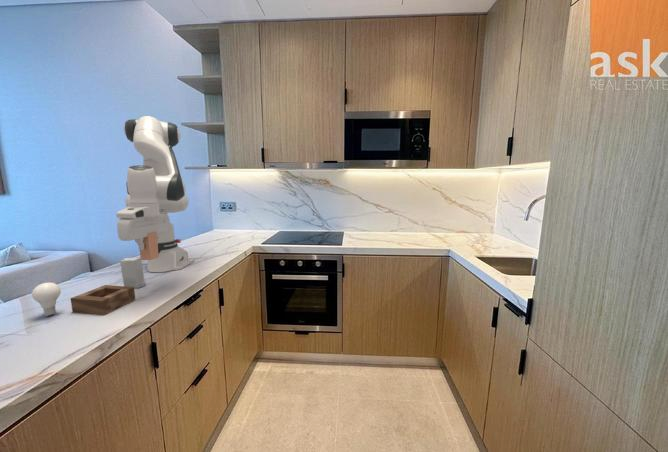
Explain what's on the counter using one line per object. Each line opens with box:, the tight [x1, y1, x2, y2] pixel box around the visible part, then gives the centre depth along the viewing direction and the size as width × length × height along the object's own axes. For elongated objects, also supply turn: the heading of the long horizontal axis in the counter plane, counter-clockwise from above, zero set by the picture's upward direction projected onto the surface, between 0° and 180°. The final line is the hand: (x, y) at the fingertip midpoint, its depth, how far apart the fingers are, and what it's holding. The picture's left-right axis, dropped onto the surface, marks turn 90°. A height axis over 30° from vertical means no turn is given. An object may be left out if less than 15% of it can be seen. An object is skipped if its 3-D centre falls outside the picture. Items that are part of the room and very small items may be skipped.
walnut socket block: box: [70, 284, 136, 316], centre depth 95 cm, size 12×12×5 cm
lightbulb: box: [31, 281, 62, 317], centre depth 87 cm, size 6×6×11 cm
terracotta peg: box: [139, 232, 159, 261], centre depth 101 cm, size 4×4×10 cm
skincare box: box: [119, 257, 146, 289], centre depth 112 cm, size 6×4×12 cm
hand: (148, 247), depth 101 cm, fingers closed on terracotta peg, 4 cm apart
